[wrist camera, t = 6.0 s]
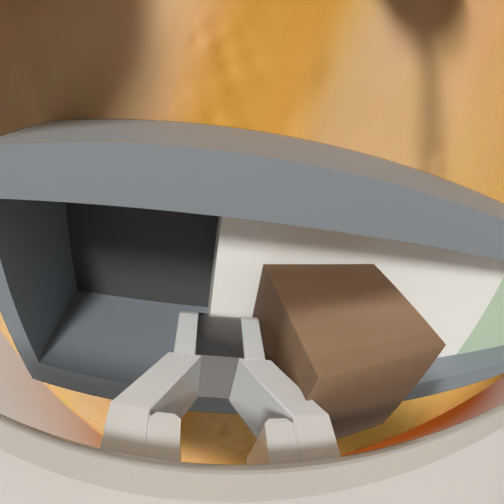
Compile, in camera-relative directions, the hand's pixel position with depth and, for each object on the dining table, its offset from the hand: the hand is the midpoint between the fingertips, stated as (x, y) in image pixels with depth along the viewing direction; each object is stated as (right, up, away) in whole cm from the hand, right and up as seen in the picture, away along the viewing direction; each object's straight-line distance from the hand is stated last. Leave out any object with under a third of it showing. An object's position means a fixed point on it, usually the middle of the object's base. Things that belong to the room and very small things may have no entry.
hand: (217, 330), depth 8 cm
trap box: (+11, +1, +7) cm, 13 cm away
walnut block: (+3, 0, +2) cm, 3 cm away
